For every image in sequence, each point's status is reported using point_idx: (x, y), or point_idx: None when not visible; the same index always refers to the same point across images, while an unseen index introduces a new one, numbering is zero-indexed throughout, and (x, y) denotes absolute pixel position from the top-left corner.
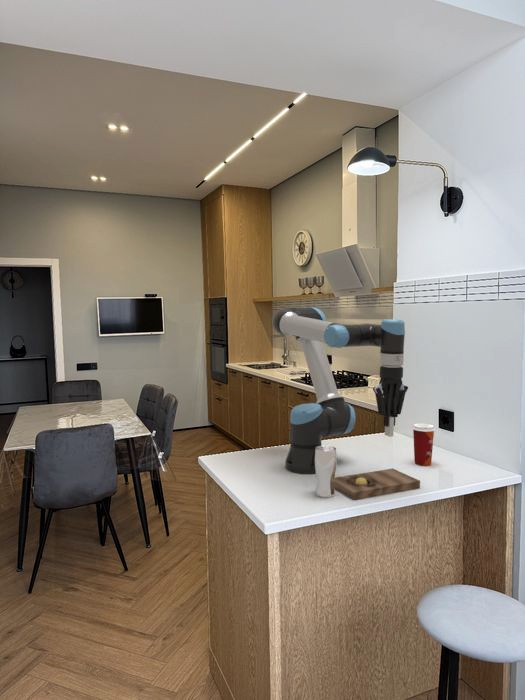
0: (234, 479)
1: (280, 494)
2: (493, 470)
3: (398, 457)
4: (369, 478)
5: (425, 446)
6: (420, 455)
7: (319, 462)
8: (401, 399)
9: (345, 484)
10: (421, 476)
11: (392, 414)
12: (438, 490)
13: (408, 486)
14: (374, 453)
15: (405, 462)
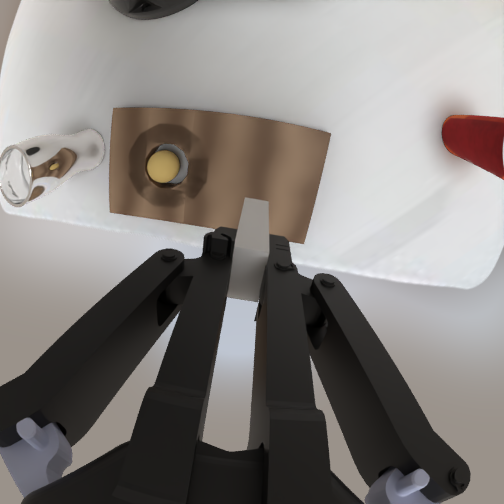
0: (22, 26)
1: (32, 117)
2: (488, 257)
3: (450, 63)
4: (200, 156)
5: (477, 161)
6: (457, 143)
7: (21, 179)
8: (339, 415)
9: (119, 162)
10: (379, 186)
11: (260, 298)
12: (322, 265)
13: None
14: (422, 3)
15: (436, 96)
